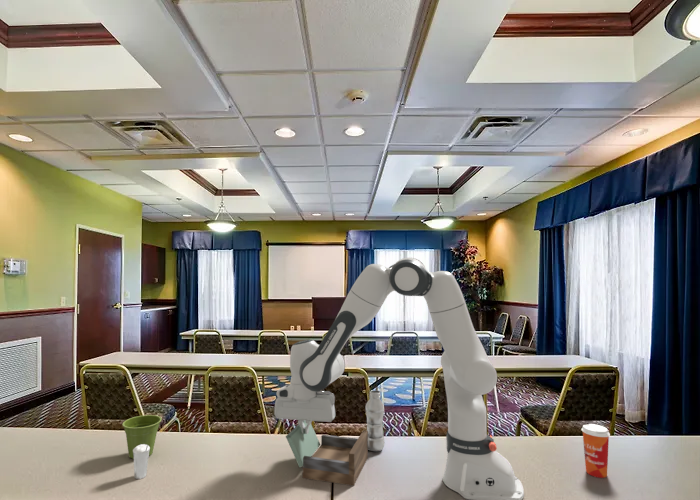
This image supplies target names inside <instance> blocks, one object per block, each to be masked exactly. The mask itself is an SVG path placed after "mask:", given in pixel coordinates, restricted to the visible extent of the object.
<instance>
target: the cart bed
mask: <svg viewBox="0 0 700 500" xmlns="http://www.w3.org/2000/svg"><path fill="white" fill-rule="evenodd" d="M320 438H321V439H320V440H321V441H320V442H321V443H320V446H319V447H318V448H317V450H316V451H315V452H314V453H313V455H312V456H311V457H310V456H304V457H303V466H302V479H306V480H307V479H309V480H315V481H322V482H328V483H332V484H333V483H335V484H340V485H346V486H348V485H349V486H352V487H353V486H355V485H356V482H357V481H358V479H359V476H360V475H361V473H362V471H363V468H364V467H365V465H366V463H367V461H368V456H369V455H368V454H369V451H368V431H367V430H362V432H361V434H360V435H359V436H358V438H355V437H346V436H339V435H338V436H337V435H331V434H330V435H329V434H322V435H321V437H320Z"/></svg>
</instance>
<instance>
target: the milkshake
mask: <svg viewBox="0 0 700 500" xmlns="http://www.w3.org/2000/svg"><path fill="white" fill-rule="evenodd" d="M149 451H150V447H149V446H148V445H145V444H141V445H138V446H136V447H135V448H134V449H133V458H134V459H133V472H134V473H133V475H134V479H135V480H141V479H144V478H146V477H147V473H148V463H149V457H150V456H149Z"/></svg>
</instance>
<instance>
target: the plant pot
mask: <svg viewBox="0 0 700 500" xmlns="http://www.w3.org/2000/svg"><path fill="white" fill-rule="evenodd" d="M162 419H163V418H162V417H161V416H159V415H155V414H154V415H153V414H146V415H144V414H143V415H139V416H134V417H133V416H132V417H130V418H128V419H125V421H123V422H122V424H121V425H122V427H123V428H124V433H125V436H126V443H127V444H126V445H127V452H128V457H129V459H130V458H131V459H132V460H134V458H133V449H134V448H135V447H136V446H138V445H141V444H145V445H148V446H149V447H150V451H149V457H151V456H152V454H153V452H154V448H155V443H156V439H157V434H158V429H159V427H160V423H161V421H162Z"/></svg>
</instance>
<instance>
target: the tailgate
mask: <svg viewBox="0 0 700 500" xmlns="http://www.w3.org/2000/svg"><path fill="white" fill-rule="evenodd" d="M303 423H304V425H305V427H306V426H307V424H306V420H304V422H303ZM285 438H286V440H287V442H288V445H289V448H290V449H291V452H292V454H293V456H294V458H295V460H296V463H297V465H298V468H303V457H304V456H310V457H312V456H313V455H314V453H315V452H316V451H317V450H318V448H319V447H320V446H321V443H320V442H321V441H320V440H319V439H318V436H317V434H316V431H315V430H314V428H313V425H312V423H311V424H310V426H309V433H308V434H302V428H301V427H300V425H299V424H298V423H297V425H296V426H295V427H294V428H293V429H292V430H291V431H290V432H288V433H287V435H285Z"/></svg>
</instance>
